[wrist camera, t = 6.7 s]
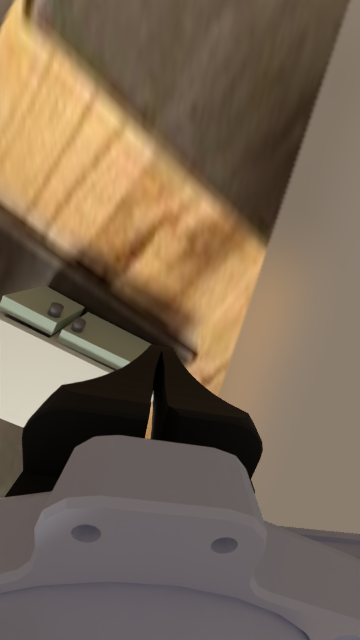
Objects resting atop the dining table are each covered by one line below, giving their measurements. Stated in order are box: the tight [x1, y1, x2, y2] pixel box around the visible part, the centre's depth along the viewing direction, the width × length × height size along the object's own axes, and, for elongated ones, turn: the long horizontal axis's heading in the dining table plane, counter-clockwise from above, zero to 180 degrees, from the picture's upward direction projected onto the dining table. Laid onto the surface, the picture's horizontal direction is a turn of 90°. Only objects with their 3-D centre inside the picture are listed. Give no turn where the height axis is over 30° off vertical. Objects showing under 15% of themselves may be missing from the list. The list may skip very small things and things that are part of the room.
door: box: [57, 312, 151, 370], centre depth 19 cm, size 2×9×5 cm, turn 59°
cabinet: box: [0, 286, 154, 428], centre depth 19 cm, size 11×14×6 cm
